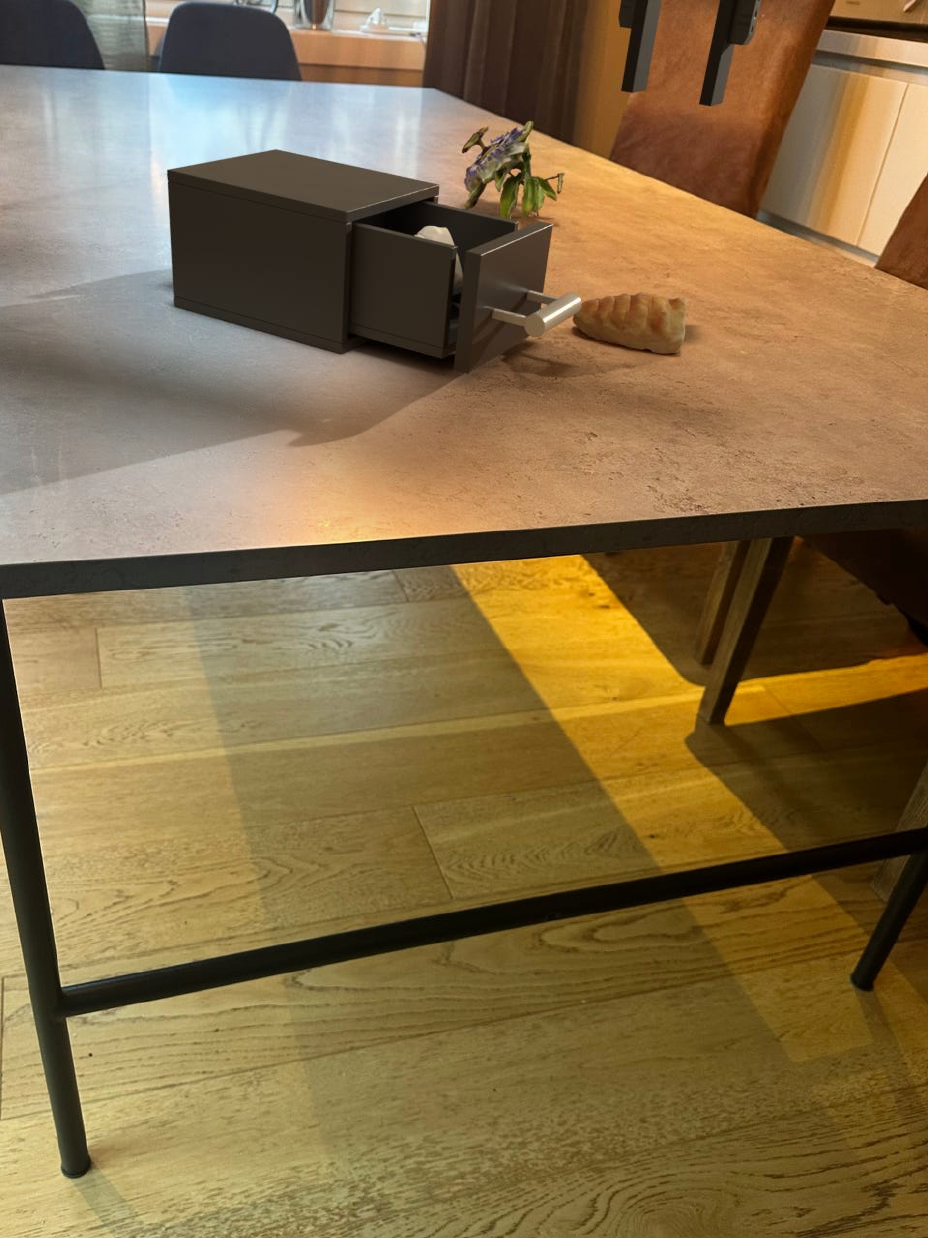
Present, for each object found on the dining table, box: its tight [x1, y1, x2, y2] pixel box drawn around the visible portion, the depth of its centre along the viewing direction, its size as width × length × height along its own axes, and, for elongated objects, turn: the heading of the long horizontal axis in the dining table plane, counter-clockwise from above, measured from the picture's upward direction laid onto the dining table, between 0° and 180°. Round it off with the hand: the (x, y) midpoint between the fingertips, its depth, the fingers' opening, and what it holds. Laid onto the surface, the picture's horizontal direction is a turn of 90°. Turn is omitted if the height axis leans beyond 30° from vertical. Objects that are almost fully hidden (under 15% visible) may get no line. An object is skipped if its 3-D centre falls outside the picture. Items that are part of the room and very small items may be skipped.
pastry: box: [572, 291, 688, 354], centre depth 86 cm, size 9×7×4 cm
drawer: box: [348, 200, 582, 375], centre depth 78 cm, size 19×12×8 cm, turn 63°
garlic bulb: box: [414, 226, 463, 295], centre depth 80 cm, size 6×6×5 cm
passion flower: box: [461, 120, 566, 220], centre depth 119 cm, size 11×11×12 cm
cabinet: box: [166, 148, 441, 354], centre depth 82 cm, size 16×14×10 cm
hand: (671, 95), depth 65 cm, fingers open, 4 cm apart
